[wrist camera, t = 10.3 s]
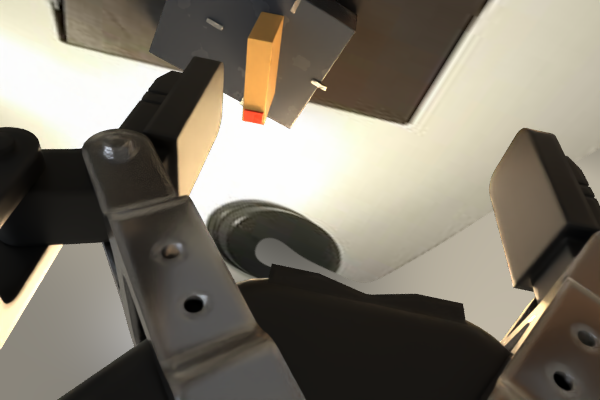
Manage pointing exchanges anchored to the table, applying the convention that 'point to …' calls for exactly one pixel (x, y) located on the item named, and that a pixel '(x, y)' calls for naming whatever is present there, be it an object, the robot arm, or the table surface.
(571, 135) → the table surface
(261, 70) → the tap lever
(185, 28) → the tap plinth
